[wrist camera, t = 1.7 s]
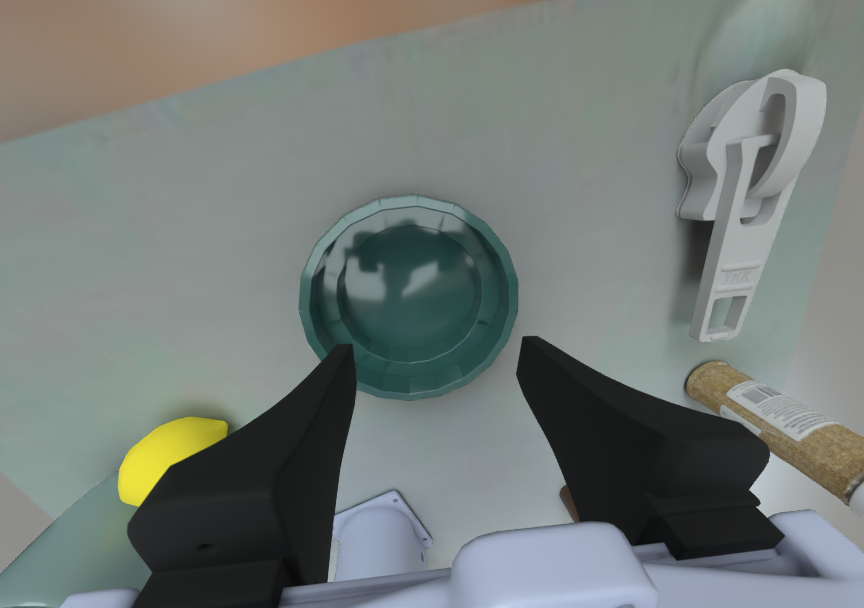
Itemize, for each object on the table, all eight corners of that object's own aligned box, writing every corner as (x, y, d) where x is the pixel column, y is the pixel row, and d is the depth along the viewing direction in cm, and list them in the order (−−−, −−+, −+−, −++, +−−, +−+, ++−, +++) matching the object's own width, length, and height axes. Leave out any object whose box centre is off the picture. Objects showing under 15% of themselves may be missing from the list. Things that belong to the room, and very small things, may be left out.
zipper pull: (641, 329, 27) (685, 354, 23) (690, 84, 20) (765, 58, 16) (723, 318, 27) (779, 341, 23) (797, 77, 21) (895, 51, 17)
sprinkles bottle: (677, 399, 30) (878, 549, 18) (692, 359, 28) (924, 494, 16) (718, 396, 31) (941, 539, 18) (735, 356, 29) (992, 485, 17)
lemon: (79, 502, 17) (94, 456, 21) (151, 547, 20) (152, 499, 24) (206, 411, 21) (199, 387, 25) (254, 459, 23) (240, 430, 27)
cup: (222, 507, 28) (138, 665, 19) (130, 520, 27) (-3, 691, 18) (194, 443, 25) (79, 592, 16) (91, 455, 24) (-92, 620, 15)
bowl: (517, 323, 25) (542, 351, 21) (371, 388, 25) (367, 428, 21) (457, 160, 20) (475, 153, 16) (278, 245, 20) (249, 260, 16)
